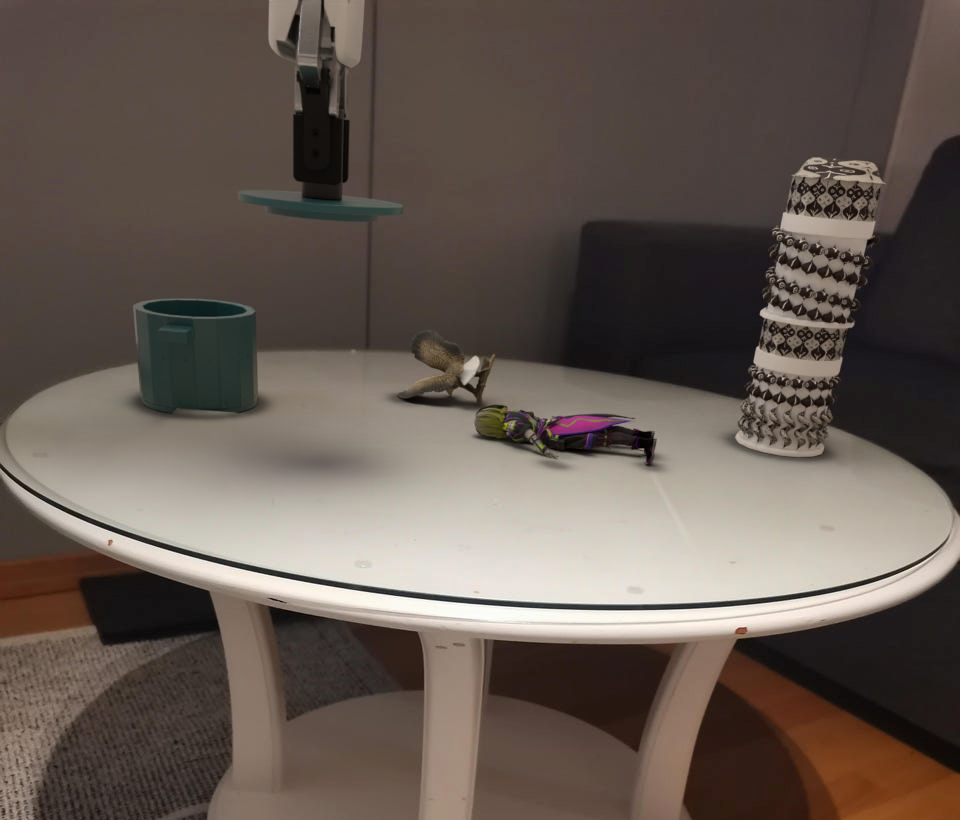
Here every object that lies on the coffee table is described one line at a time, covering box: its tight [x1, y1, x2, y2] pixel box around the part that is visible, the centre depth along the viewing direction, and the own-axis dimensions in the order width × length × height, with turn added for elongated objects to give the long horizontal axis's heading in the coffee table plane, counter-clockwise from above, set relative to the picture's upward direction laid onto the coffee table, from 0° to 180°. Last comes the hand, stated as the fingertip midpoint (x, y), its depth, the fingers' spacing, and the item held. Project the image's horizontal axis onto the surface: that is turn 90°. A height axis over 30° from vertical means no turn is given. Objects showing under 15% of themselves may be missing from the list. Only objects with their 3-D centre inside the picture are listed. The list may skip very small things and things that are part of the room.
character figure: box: [474, 404, 658, 466], centre depth 86 cm, size 9×4×16 cm
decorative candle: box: [734, 156, 887, 458], centre depth 89 cm, size 9×9×25 cm
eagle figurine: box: [396, 329, 496, 406], centre depth 99 cm, size 8×7×9 cm
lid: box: [237, 109, 404, 223], centre depth 67 cm, size 11×11×7 cm
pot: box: [132, 297, 259, 414], centre depth 91 cm, size 11×16×8 cm, turn 0°
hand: (321, 179), depth 67 cm, fingers closed on lid, 2 cm apart
